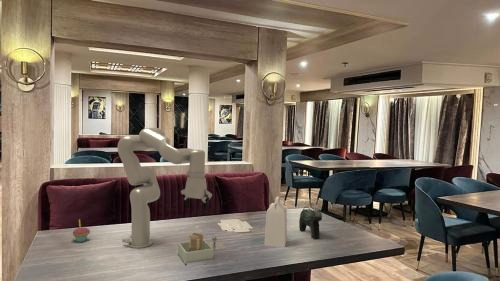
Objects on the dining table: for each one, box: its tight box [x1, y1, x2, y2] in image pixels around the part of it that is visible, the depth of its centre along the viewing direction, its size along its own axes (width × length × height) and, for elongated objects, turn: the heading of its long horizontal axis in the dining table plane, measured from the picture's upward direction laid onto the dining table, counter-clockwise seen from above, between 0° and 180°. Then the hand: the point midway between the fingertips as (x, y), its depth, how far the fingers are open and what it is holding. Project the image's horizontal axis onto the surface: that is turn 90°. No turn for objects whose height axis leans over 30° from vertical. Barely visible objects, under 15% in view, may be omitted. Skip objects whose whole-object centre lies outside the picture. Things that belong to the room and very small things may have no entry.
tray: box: [217, 218, 254, 233], centre depth 221 cm, size 20×28×4 cm
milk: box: [263, 196, 288, 248], centre depth 192 cm, size 12×12×26 cm
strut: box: [188, 232, 204, 252], centre depth 167 cm, size 5×5×11 cm
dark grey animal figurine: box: [298, 203, 323, 240], centre depth 207 cm, size 20×6×20 cm, turn 22°
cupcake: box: [72, 219, 91, 243], centre depth 186 cm, size 9×8×12 cm
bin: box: [177, 239, 214, 266], centre depth 167 cm, size 14×14×6 cm
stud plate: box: [207, 236, 227, 250], centre depth 180 cm, size 10×10×6 cm
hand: (195, 208), depth 167 cm, fingers open, 9 cm apart
